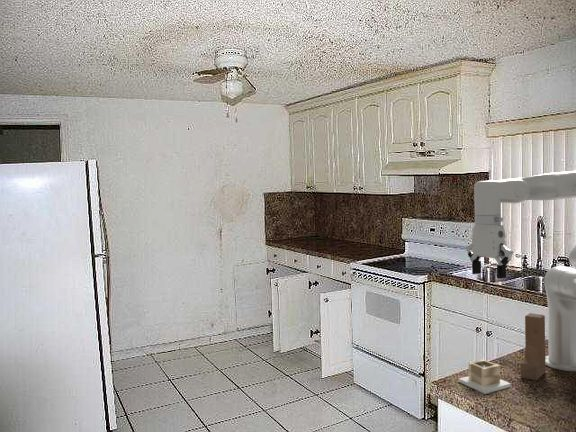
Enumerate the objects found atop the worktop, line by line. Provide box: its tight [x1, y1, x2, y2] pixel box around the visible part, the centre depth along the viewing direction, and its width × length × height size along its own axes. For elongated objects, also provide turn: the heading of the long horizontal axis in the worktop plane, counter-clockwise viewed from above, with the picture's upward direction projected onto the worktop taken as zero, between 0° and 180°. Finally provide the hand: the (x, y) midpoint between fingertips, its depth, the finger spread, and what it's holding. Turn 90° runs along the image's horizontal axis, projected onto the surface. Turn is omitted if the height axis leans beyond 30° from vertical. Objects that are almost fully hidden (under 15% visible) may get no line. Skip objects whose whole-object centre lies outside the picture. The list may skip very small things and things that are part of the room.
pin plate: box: [458, 365, 512, 395], centre depth 141 cm, size 10×10×6 cm
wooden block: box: [520, 312, 546, 382], centre depth 147 cm, size 9×4×18 cm, turn 136°
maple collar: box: [467, 359, 501, 386], centre depth 141 cm, size 6×6×5 cm
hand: (488, 275), depth 149 cm, fingers open, 9 cm apart
